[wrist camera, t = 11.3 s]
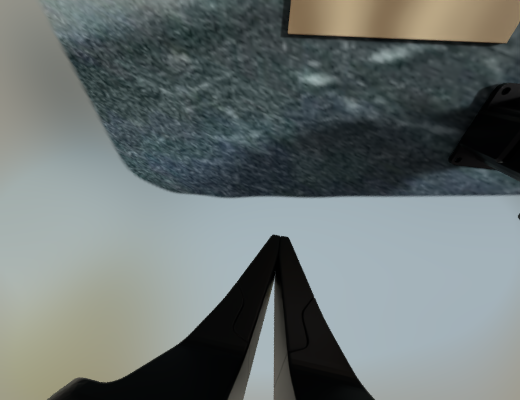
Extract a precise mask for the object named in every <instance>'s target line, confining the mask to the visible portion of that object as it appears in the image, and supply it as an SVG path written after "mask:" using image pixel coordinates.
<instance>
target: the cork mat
mask: <svg viewBox="0 0 520 400" xmlns="http://www.w3.org/2000/svg"><path fill="white" fill-rule="evenodd" d="M519 22H520V0H291V7H290V17H289V27H288V34H296V35H318V36H341V37H364V38H387V39H410V40H432V41H455V42H478V43H501V44H502V43H507V41H508V40H509V38H510V36H511V35H512V33H513V32H514V30H515V28H516V27H517V25H518V24H519Z"/></svg>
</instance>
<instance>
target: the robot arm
mask: <svg viewBox="0 0 520 400" xmlns="http://www.w3.org/2000/svg"><path fill="white" fill-rule="evenodd" d="M505 88H506V90H505V92H504V93H502V94H501V92H502V90H503V89H505ZM458 157H459V158H458ZM456 158H458V159H457V160H456V161H455V159H456ZM449 162H450V163H452V164H453V165H460V166H469V167H478V168H487V169H496V170H498V171H500V172H502V173H504V174H506V175H508V176H510V177H512V178H514V179H516V180H518V181H520V84H515V83H503V84H501V85H499V86H498V87H496V89H495V90H494V91H493V93H492V94H491V96H490V97H489V99H488V100H487V102H486V103H485V105H484V106H483V108H482V109H481V111H480V112H479V114H478V115H477V116H476V118H475V119H474V121H473V122H472V124H471V126H470V127H469V129H468V130H467V132H466V133H465V135H464V136H463V138H462V139H461V141H460V143H459V144H458V146H457V147H456V149H455V150H454V152H453V153H452V155H451V156H450V158H449ZM518 218H519V219H520V214H519V215H518ZM275 271H276V272H275ZM274 278H275V290H274V292H275V294H274V295H275V296H274V297H275V298H274V400H375V399H374V398H373V397H372V396H371V395H370V394H369V392H368V391H367V390H366V389H365V388H364V386H363V385H362V384H361V382H360V381H359V379H358V378H357V376H356V375H355V373H354V372H353V370H352V368H351V367H350V365H349V363H348V361H347V359H346V358H345V356H344V354H343V352H342V350H341V349H340V347H339V345H338V343H337V341H336V340H335V338H334V336H333V334H332V332H331V331H330V329H329V327H328V325H327V323H326V321H325V319H324V317H323V315H322V313H321V311H320V309H319V306H318V304H317V302H316V299H315V298H314V295H313V293H312V290H311V288H310V286H309V283H308V281H307V279H306V276H305V274H304V272H303V270H302V267H301V265H300V263H299V260H298V258H297V256H296V253H295V251H294V248H293V246H292V244H291V242H290V239H289V238H288V237H284V236H281V237H280V236H278V235H272V236H271V237H270V238H269V240H268V241H267V243H266V244H265V245H264V246H263V248H262V249H261V250H260V252H259V253H258V255H257V256H256V257H255V259H254V260H253V261H252V263H251V264H250V265H249V267H248V268H247V269H246V270H245V272H244V273H243V275H242V276H241V277H240V279H239V280H238V281H237V283H236V284H235V285H234V286H233V288H232V289H231V290H230V292H229V293H228V294H227V296H225V298H224V299H223V300H222V301H221V302H220V303H219V304H218V305H217V307H216V308H215V309H214V310H213V311H212V312H211V313H210V314H209V315H208V316H207V317H206V318H205V319H204V320H203V321H202V322H201V323H200V324H199V326H197V328H195V330H194V331H193V332H192V333H191V334H190V335H189V336H188V337H186V338H185V339H184V340H183V341H182V342H180V343H179V344H178V345H176V346H175V347H173V348H171V349H170V350H168V351H167V352H165V353H163V354H162V355H160V356H158V357H157V358H155V359H153V360H152V361H150V362H149V363H147V364H145V365H144V366H142V367H140V368H139V369H137V370H135V371H134V372H132V373H130V374H129V375H127V376H125V377H123V378H121V379H119V380H116V381H113V382H107V383H105V382H98V381H95V380H91V379H87V378H76V379H74V380H73V381H71V382H70V383H68V384H67V385H66V386H64V387H63V388H61V389H60V390H59V391H57V392H56V393H55V394H53V395H52V396H51V397H50V398H48V399H47V400H243V398H244V394H245V390H246V386H247V382H248V378H249V375H250V371H251V367H252V363H253V359H254V355H255V351H256V347H257V344H258V340H259V336H260V332H261V329H262V325H263V321H264V317H265V313H266V309H267V305H268V301H269V297H270V294H271V290H272V286H273V282H274Z"/></svg>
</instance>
